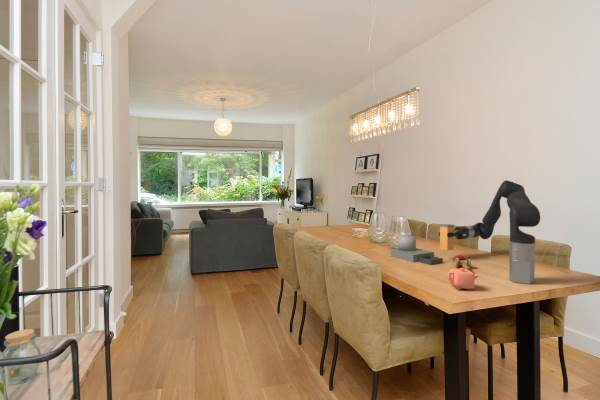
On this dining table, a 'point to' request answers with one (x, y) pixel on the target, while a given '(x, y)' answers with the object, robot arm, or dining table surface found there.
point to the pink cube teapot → (462, 278)
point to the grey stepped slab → (413, 251)
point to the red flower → (462, 262)
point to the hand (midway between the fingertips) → (443, 234)
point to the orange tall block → (445, 241)
